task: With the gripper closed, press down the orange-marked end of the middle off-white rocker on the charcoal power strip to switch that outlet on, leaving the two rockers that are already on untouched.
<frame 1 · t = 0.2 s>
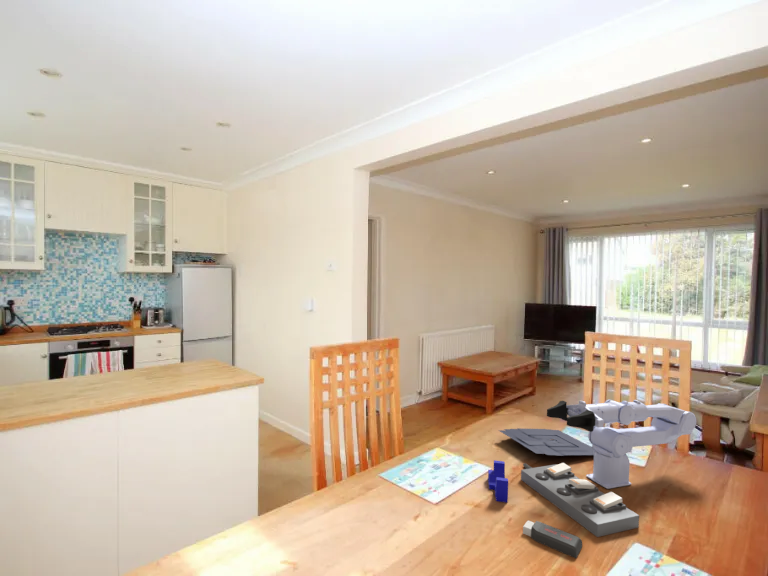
hand: (557, 417, 115), 21 cm above the table, fingers open, 7 cm apart
papers: (549, 448, 147), on the table
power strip: (573, 501, 111), on the table
rocker middle: (581, 483, 112), point 4 cm above the table, hinge at -10.0°
blue pipe cradle: (497, 491, 116), on the table
rocker 1: (559, 469, 120), point 4 cm above the table, hinge at 10.0°
usb drive: (551, 543, 94), on the table
rocker 2: (607, 500, 104), point 4 cm above the table, hinge at 10.0°
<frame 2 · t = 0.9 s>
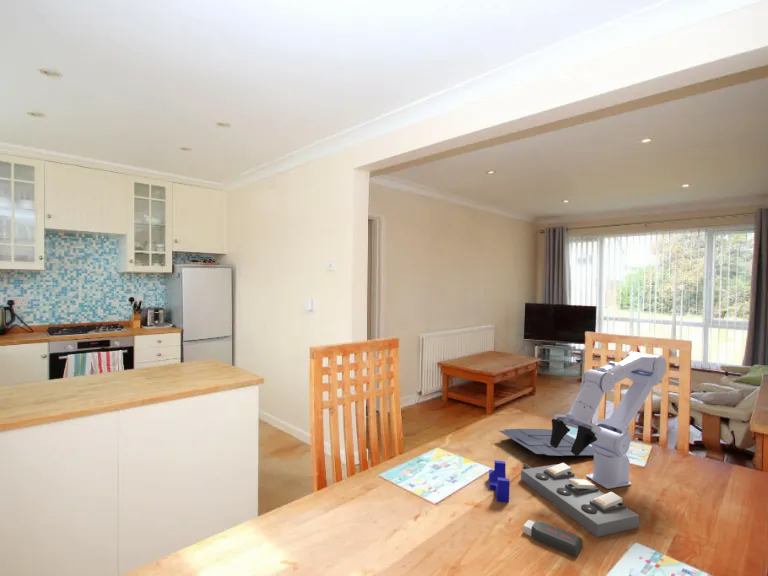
hand: (563, 450, 112), 13 cm above the table, fingers open, 7 cm apart
nothing on the table moved.
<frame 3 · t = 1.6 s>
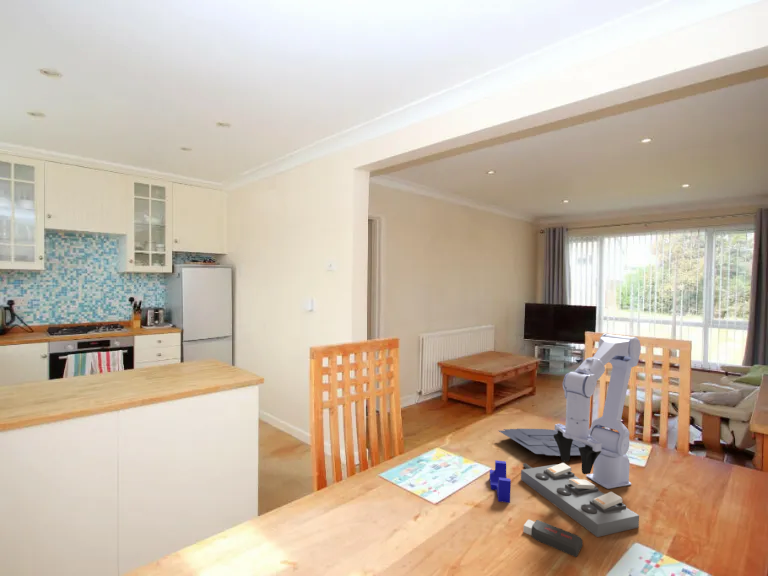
hand: (575, 466, 111), 9 cm above the table, fingers open, 7 cm apart
nothing on the table moved.
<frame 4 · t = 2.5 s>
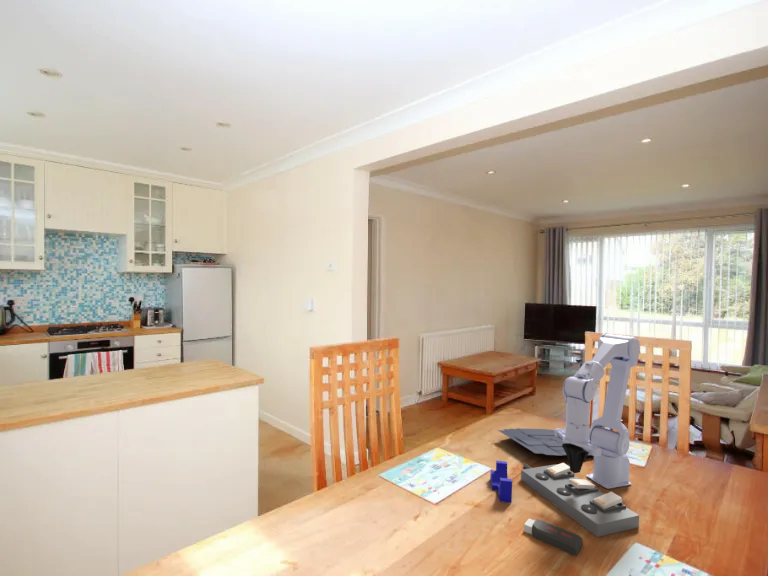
hand: (575, 471, 111), 8 cm above the table, fingers closed
nothing on the table moved.
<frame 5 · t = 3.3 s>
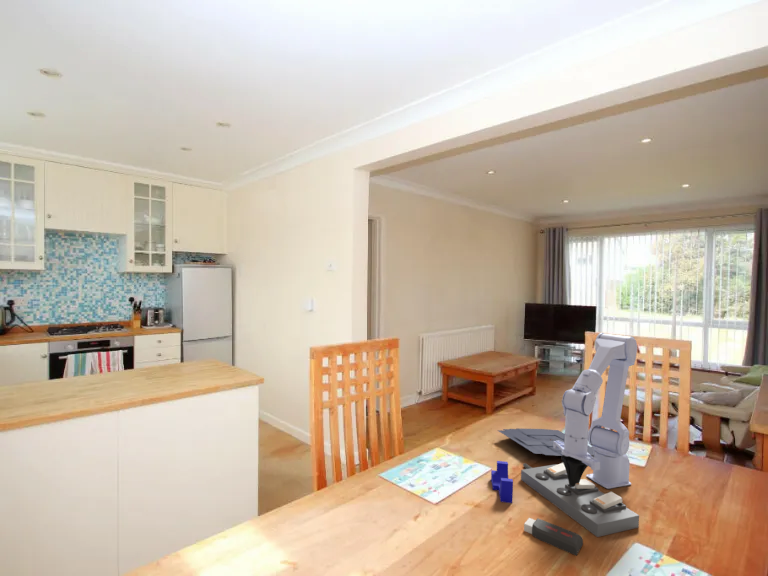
hand: (573, 484, 111), 5 cm above the table, fingers closed, pressing on rocker middle
rocker middle: (581, 483, 112), point 4 cm above the table, hinge at -8.1°, touching gripper
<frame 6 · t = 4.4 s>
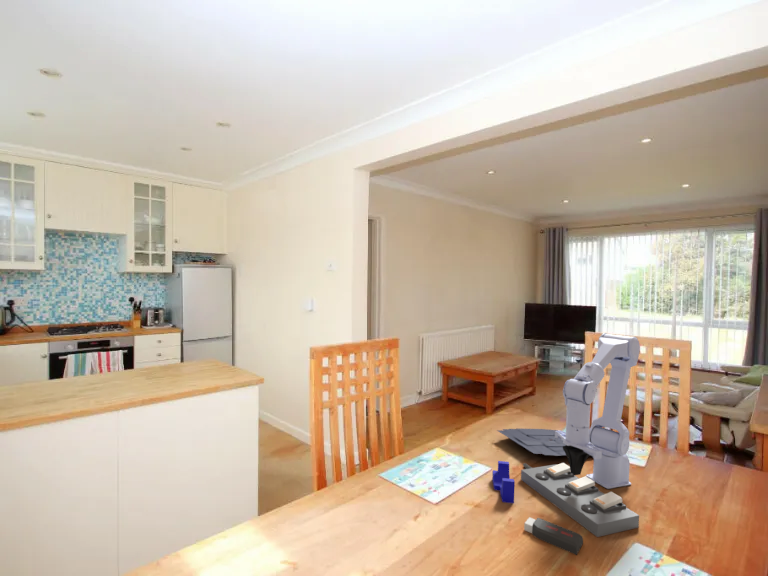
hand: (575, 473, 111), 7 cm above the table, fingers closed
rocker middle: (581, 483, 112), point 4 cm above the table, hinge at 9.2°
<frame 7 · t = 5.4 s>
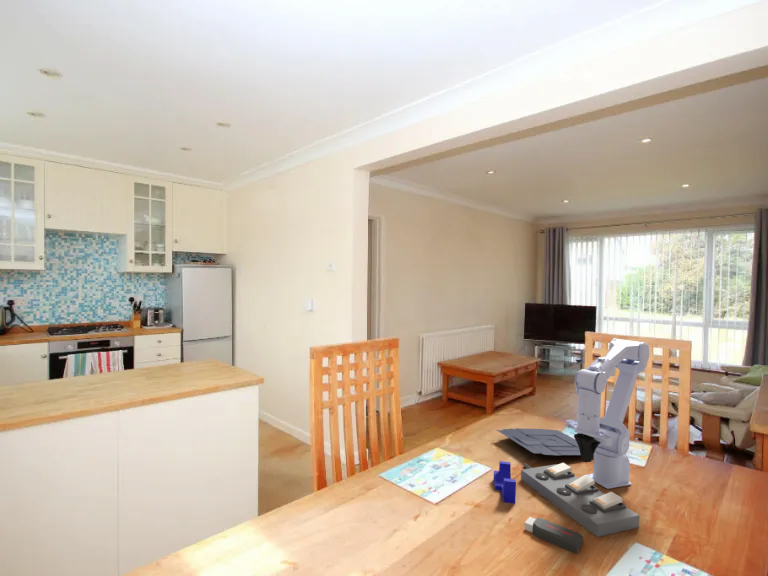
hand: (586, 461, 115), 9 cm above the table, fingers closed
rocker middle: (581, 483, 112), point 4 cm above the table, hinge at 19.3°, touching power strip
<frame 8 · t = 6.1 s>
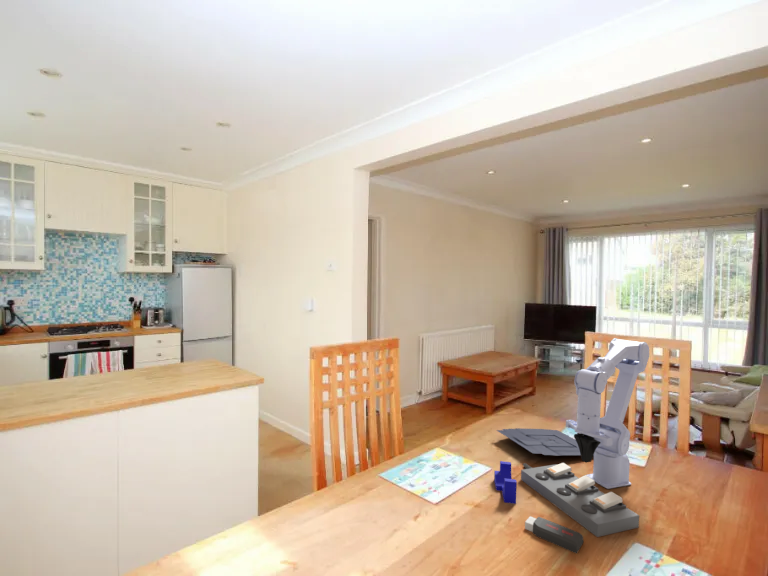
hand: (586, 461, 115), 9 cm above the table, fingers closed
rocker middle: (581, 483, 112), point 4 cm above the table, hinge at 16.2°
at the end: rocker middle at +16° (first picture: -10°); rocker 1 at +10° (first picture: +10°); rocker 2 at +10° (first picture: +10°) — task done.
